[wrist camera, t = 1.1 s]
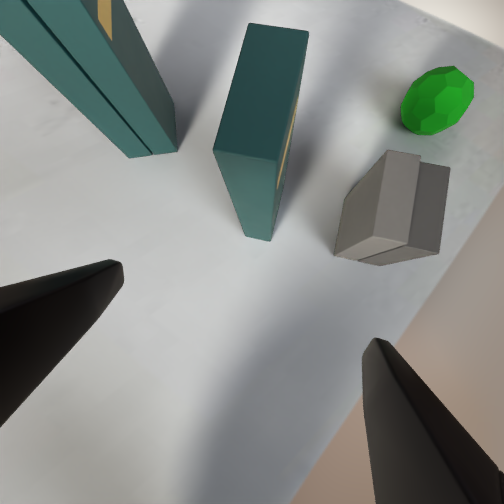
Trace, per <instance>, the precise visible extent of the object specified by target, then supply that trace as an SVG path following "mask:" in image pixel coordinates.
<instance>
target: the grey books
mask: <svg viewBox="0 0 504 504" xmlns="http://www.w3.org/2000/svg"><path fill="white" fill-rule="evenodd" d="M420 159H421V156H420V155H414V154H409V153H403V152H398V151H392V150H387V151H386V152H385V153H384V154H383V155H382V156H381V158H380V159H379V160H378V161H377V162H376V163H375V164H374V166H373V167H372V168H371V169H370V170H369V171H368V173H367V174H366V175H365V176H364V177H363V178H362V179H361V181H360V182H359V183H358V184H357V185H356V186H355V188H354V189H353V190H352V191H351V192H350V193H349V195H348V196H347V197H346V198H345V200H344V205H343V210H342V215H341V220H340V225H339V230H338V235H337V241H336V246H335V251H334V256H337V257H341V258H346V259H350V260H355V261H356V260H357V261H359V262H363V263H368V264H372V265H377V266H383V265H387V264H392V263H397V262H402V261H407V260H412V259H416V258H421V257H426V256H431V255H436V254H439V250H440V243H441V235H442V228H443V220H444V213H445V205H446V198H447V190H448V183H449V175H450V167H445V166H440V165H434V164H429V163H423V162H420Z"/></svg>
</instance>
